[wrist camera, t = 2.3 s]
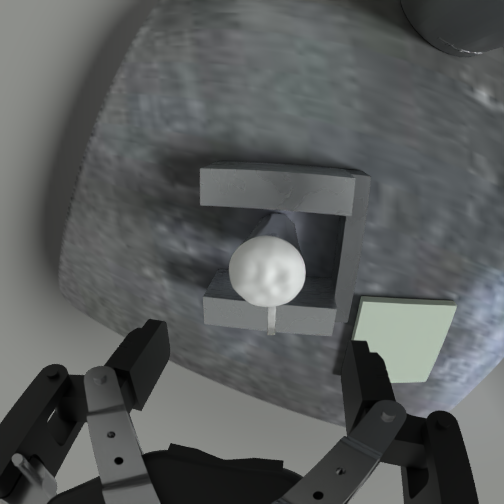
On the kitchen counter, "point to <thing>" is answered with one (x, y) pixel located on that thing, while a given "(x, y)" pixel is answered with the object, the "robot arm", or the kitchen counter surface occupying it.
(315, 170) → the grey u-shaped bracket
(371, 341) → the mat
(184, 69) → the kitchen counter surface
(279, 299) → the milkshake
